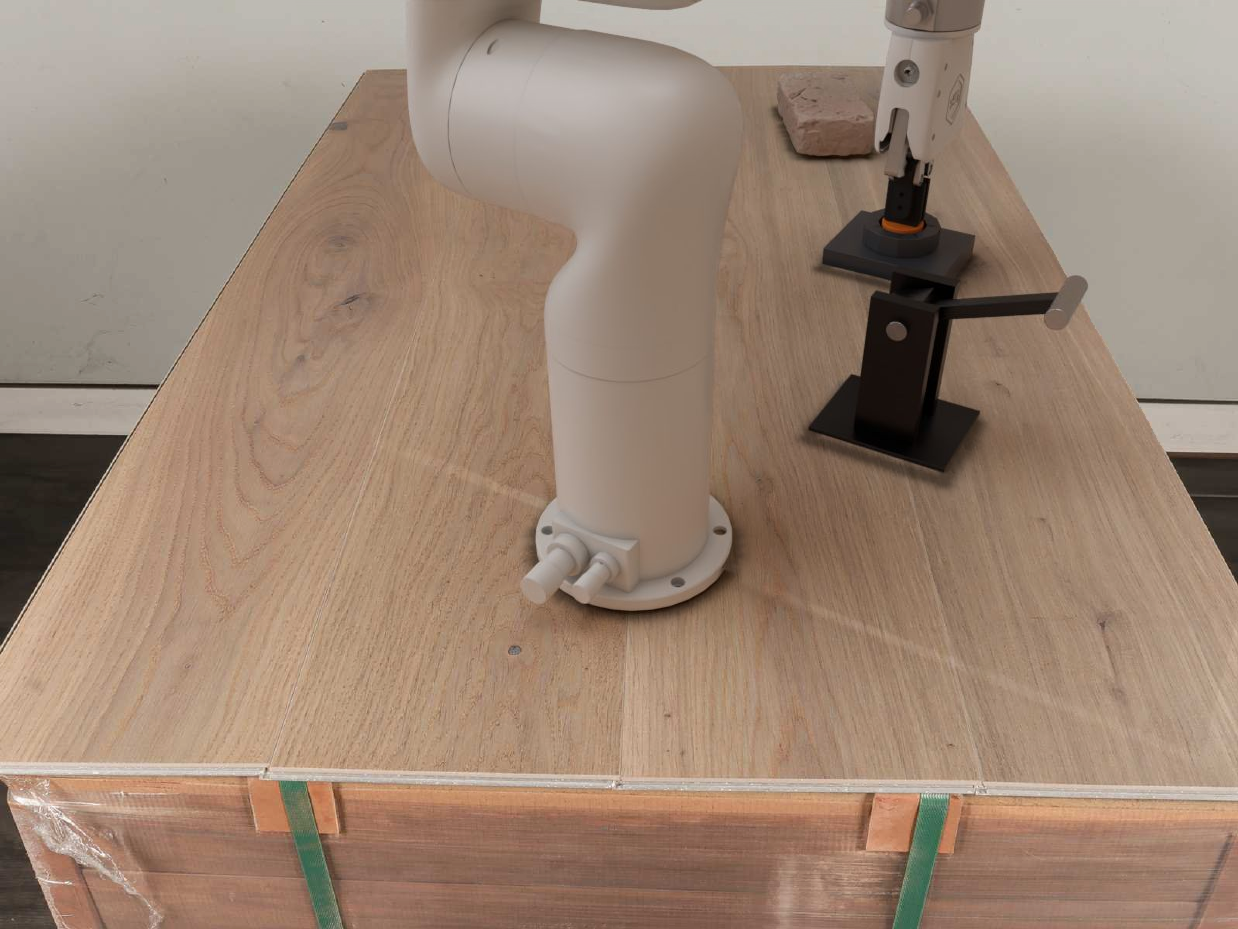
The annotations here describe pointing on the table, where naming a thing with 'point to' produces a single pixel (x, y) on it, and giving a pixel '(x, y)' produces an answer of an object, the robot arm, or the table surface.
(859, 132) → the brick
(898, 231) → the button
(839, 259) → the button box
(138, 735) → the table surface
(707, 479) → the robot arm
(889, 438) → the bracket
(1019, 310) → the lever
